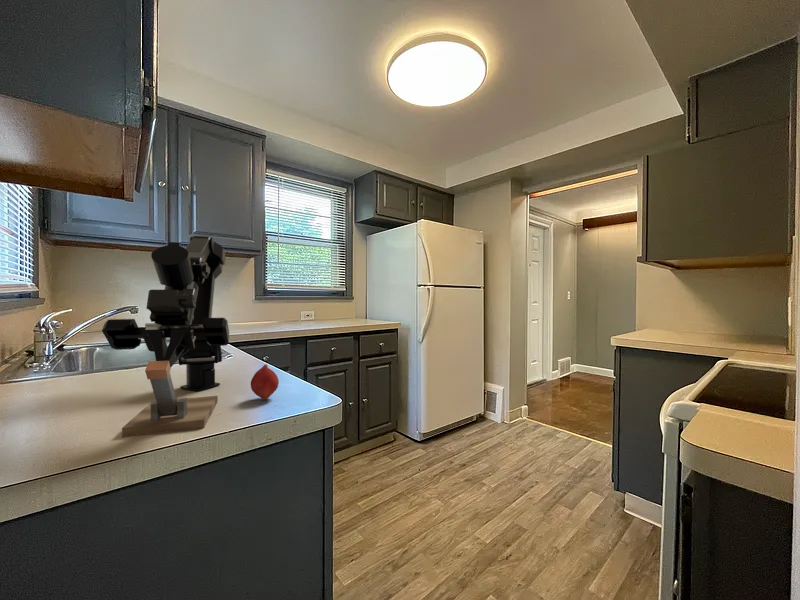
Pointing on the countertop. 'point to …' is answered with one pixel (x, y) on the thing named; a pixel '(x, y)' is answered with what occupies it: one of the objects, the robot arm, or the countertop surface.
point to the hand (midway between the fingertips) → (161, 373)
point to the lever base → (172, 417)
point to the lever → (162, 386)
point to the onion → (264, 382)
